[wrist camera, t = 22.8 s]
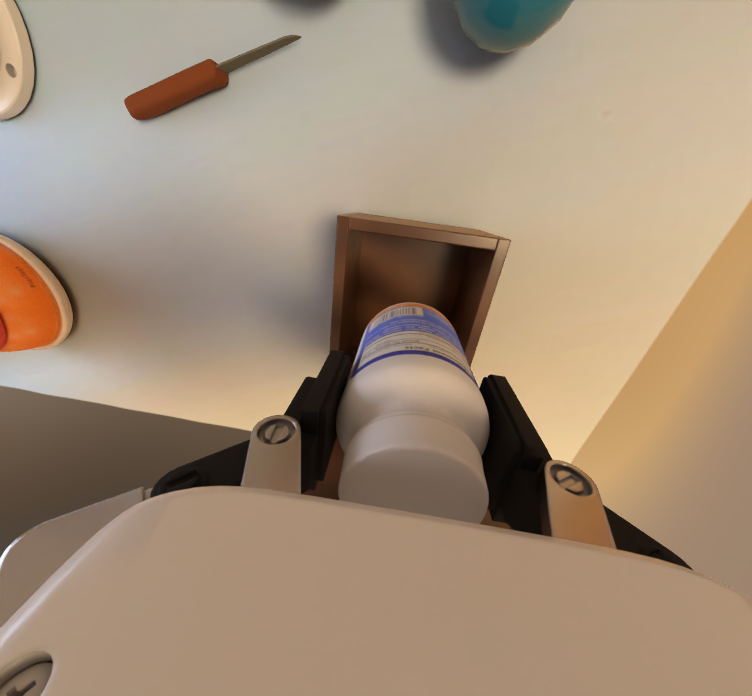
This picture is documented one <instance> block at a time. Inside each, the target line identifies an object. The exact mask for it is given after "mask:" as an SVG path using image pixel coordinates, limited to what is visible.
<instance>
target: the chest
mask: <svg viewBox="0 0 752 696" xmlns="http://www.w3.org/2000/svg"><path fill="white" fill-rule="evenodd" d="M510 242H511V240H509V239H506V238H503V237H500V236H496V235H493V234H490V233H487V232H484V231H481V230H475V229H468V228H461V227H454V226H447V225H440V224H433V223H425V222H418V221H411V220H404V219H397V218H390V217H383V216H376V215H369V214H362V213H353V214H345V215H338V216H337V231H336V249H335V267H334V284H333V302H332V320H331V337H330V352H331V350H337V351H343V352H345V355H347V356H349V368H348V377H349V375H350V372H351V369H352V366H353V363H354V360H355V358H356V355H357V352H358V349H359V346H360V342H361V339H362V337H363V334H364V332H365V329H366V327H367V326H368V324H369V323H370V322H371V320H372V319H373V318H374V317H375V316H376V315H377V314H378V313H380V312H381V311H382V310H384V309H386V308H388V307H390V306H393V305H396V304H399V303H407V302H412V303H420V304H424V305H427V306H430V307H432V308H434V309H436V310H437V311H439V312H440V313H441V314H443V315H444V316H445V317H446V318H447V319H448V321H449V322H450V323H451V325H452V326H453V328H454V330H455V332H456V334H457V336H458V339H459V341H460V344H461V346H462V349H463V351H464V354H465V356H466V359H467V361H468V364H469V366H471V363H472V360H473V357H474V354H475V351H476V347H477V344H478V341H479V338H480V335H481V332H482V329H483V326H484V323H485V320H486V316H487V313H488V310H489V307H490V304H491V301H492V298H493V295H494V292H495V289H496V285H497V282H498V279H499V276H500V273H501V270H502V267H503V264H504V261H505V258H506V254H507V251H508V248H509V245H510ZM347 380H348V378H347Z"/></svg>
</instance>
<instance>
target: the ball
mask: <svg viewBox="0 0 752 696" xmlns="http://www.w3.org/2000/svg"><path fill="white" fill-rule="evenodd" d="M452 1H453V7H454V10H455V12H456V14H457V17H458V19H459V22H460V24H461V27H462V29H463V32H464V34H465V35H466V36H467V37H468V38H469V39H470V40H471V41H472V42H473V43H474V44H476V45H477V46H478V47H479V48H480V49H481V50H485V51H490V52H494V53H499V54H504V53H507V52H511V51H514V50H517V49H521V48H524V47H527V46H530V45H531V44H532V43H533V42H535V41H536V40H537V39H538V38H540V37H541V36H542V35H543V34H545V33H546V32H547V31H548V30H550V29H551V28H552V27H553V26H554V25H555V24H557V23H558V22H559V21H560V20H561V18H562V17H563V15H564V14H565V12H566V11H567V9H568V8H569V6H570V5H571V3H572V2H573V1H574V0H452Z"/></svg>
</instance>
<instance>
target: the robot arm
mask: <svg viewBox="0 0 752 696" xmlns="http://www.w3.org/2000/svg"><path fill="white" fill-rule="evenodd" d="M33 86H34V62H33V53H32V49H31V45H30V41H29V37H28V33H27V30H26V27H25V25H24V22H23V19H22V17H21V14H20V12H19V10H18V8H17V6H16V4H15V2H14V0H0V120H5V119H9V118H11V117H14V116H16V115H17V114H19V113H20V112H21V111H22V110H23V109H24V108H25V106H26V105H27V103H28V101H29V100H30V97H31V93H32V89H33ZM348 368H349V356H347V355H345V352H343V351H337V350H331V352H330V354H329V356H328V357H327V359H326V361H325V363H324V365H323V367H322V369H321V371H320V373H319V375H318V377H317V378H312V377H306V378H305V380H304V381H303V383H302V385H301V386H300V388H299V390H298V392H297V393H296V395H295V397H294V398H293V400H292V402H291V403H290V405H289V407H288V409H287V410H286V412H285V414H284V415H275V416H270V417H267V418H265V419H263V420H261V421H260V422H258V423H257V424H256V425H255V427H254V428H253V431H252V433H251V438H250V440H248V441H245V442H243V443H240V444H237V445H235V446H232V447H229V448H227V449H224V450H222V451H219V452H217V453H214V454H211V455H209V456H206V457H204V458H201V459H199V460H196V461H193V462H191V463H188V464H186V465H183V466H181V467H178V468H176V469H174V470H172V471H170V472H169V473H167V474H166V475H165V476H163V477H162V478H161V479H160V480H159V481H158V482H157V483H156V484H155V485H154V487H153V488H151V489H148V490H145V491H144V489H143V487H141V488H138V489H135V490H132V491H129V492H126V493H124V494H121V495H118V496H115V497H113V498H110V499H107V500H104V501H101V502H99V503H96V504H93V505H90V506H87V507H84V508H82V509H79V510H76V511H73V512H71V513H68V514H65V515H62V516H59V517H56V518H54V519H51V520H48V521H46V522H44V523H41V524H39V525H37V526H35V527H33V528H31V529H30V530H28V531H27V532H25V533H24V534H22V535H21V536H19V537H18V538H17V539H16V540H15V541H14V542H13V543H12V544H11V545H10V546H9V547H8V548H7V549H6V551H5V552H4V554H3V555H2V557H1V559H0V696H752V598H750V597H749V596H747V595H745V594H743V593H741V592H740V591H738V590H736V589H733V588H731V587H729V586H727V585H725V584H723V583H721V582H719V581H717V580H715V579H713V578H710V577H709V576H706V575H704V574H701V573H698V572H696V571H693V569H692V568H691V567H689V566H688V565H687V564H686V563H685V562H684V561H683V560H682V559H681V558H680V557H678V556H677V555H676V554H674V553H673V552H672V551H670V550H669V549H667V548H666V547H664V546H663V545H661V544H660V543H658V542H657V541H655V540H654V539H653V538H651V537H650V536H648V535H647V534H645V533H644V532H642V531H641V530H639V529H638V528H636V527H635V526H633V525H632V524H631V523H629V522H628V521H626V520H625V519H623V518H622V517H620V516H619V515H617V514H616V513H614V512H613V511H611V510H610V509H608V508H607V507H605V506H604V505H603V504H602V500H601V497H600V494H599V491H598V488H597V486H596V484H595V483H594V482H593V481H592V479H591V478H590V477H589V476H588V475H587V474H586V473H584V472H583V471H582V470H580V469H579V468H577V467H576V466H574V465H572V464H569V463H567V462H564V461H560V460H552V458H551V456H550V454H549V453H548V450H547V448H546V447H545V445H544V443H543V441H542V440H541V438H540V436H539V435H538V433H537V431H536V429H535V428H534V426H533V424H532V422H531V421H530V419H529V417H528V416H527V414H526V412H525V410H524V409H523V407H522V405H521V403H520V402H519V400H518V398H517V397H516V395H515V393H514V391H513V390H512V388H511V386H510V385H509V383H508V381H507V379H506V378H505V377H503V376H497V375H489V376H488V378H487V377H484V378H483V380H482V383H481V386H480V389H479V390H480V392H481V394H482V397H483V399H484V402H485V405H486V407H487V410H488V415H489V421H490V433H489V438H488V443H487V445H486V448H485V450H484V453H483V455H482V456H481V458H482V464H483V471H484V475H485V479H486V483H487V488H488V492H489V504H488V508H487V510H489V512H490V515H491V519H492V521H496V522H502V523H507V524H508V525H509V526H510V529H504V528H498V527H493V526H487V525H481V524H475V523H470V522H464V521H458V520H452V519H447V518H441V517H435V516H429V515H423V514H417V513H411V512H406V511H400V510H394V509H388V508H382V507H376V506H370V505H364V504H358V503H352V502H346V501H340V500H334V499H328V498H322V497H316V496H309V495H302V494H303V493H304V492H306V491H308V490H315V488H316V485H317V482H318V481H323V480H324V477H325V474H326V471H327V467H328V464H329V461H330V457H331V454H332V451H333V447H334V444H335V441H336V437H337V432H336V414H337V409H338V405H339V402H340V399H341V396H342V394H343V391H344V388H345V386H346V383H347V378H348Z"/></svg>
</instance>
